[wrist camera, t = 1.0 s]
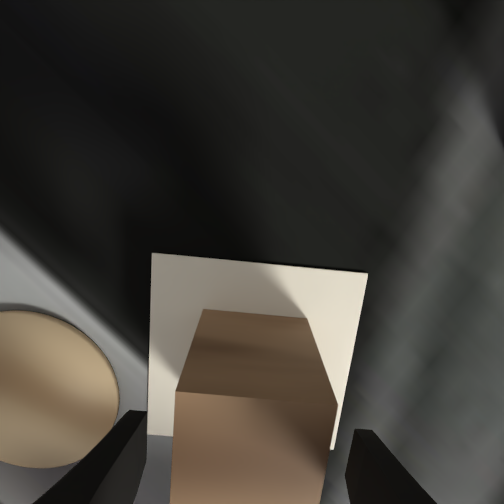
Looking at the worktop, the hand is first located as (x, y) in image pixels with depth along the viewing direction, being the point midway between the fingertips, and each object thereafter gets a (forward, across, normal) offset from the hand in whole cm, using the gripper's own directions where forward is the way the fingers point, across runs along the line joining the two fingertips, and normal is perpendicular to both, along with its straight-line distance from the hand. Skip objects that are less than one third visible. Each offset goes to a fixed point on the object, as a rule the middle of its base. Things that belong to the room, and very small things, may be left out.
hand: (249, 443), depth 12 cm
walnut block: (+5, 0, 0) cm, 5 cm away
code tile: (+5, 0, 0) cm, 5 cm away
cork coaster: (+5, +11, +3) cm, 13 cm away
